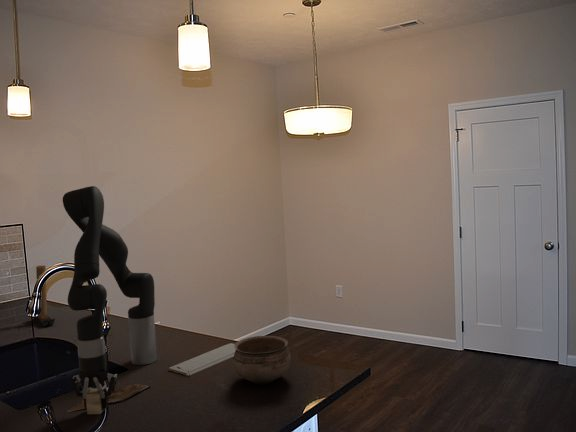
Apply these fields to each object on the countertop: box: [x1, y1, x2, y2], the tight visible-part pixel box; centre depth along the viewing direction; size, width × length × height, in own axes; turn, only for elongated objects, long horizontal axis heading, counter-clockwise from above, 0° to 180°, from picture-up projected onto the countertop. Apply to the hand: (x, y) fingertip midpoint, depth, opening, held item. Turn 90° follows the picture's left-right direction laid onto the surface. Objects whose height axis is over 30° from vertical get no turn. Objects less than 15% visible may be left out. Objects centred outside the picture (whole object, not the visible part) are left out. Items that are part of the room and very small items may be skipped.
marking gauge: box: [86, 386, 109, 415], centre depth 157 cm, size 12×4×6 cm, turn 177°
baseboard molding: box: [168, 343, 236, 377], centre depth 192 cm, size 31×3×12 cm
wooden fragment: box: [66, 383, 151, 413], centre depth 163 cm, size 26×11×1 cm, turn 126°
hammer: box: [32, 265, 56, 328], centre depth 253 cm, size 20×5×30 cm, turn 42°
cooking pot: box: [232, 335, 292, 385], centre depth 171 cm, size 25×19×12 cm
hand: (96, 408), depth 154 cm, fingers closed on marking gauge, 4 cm apart
